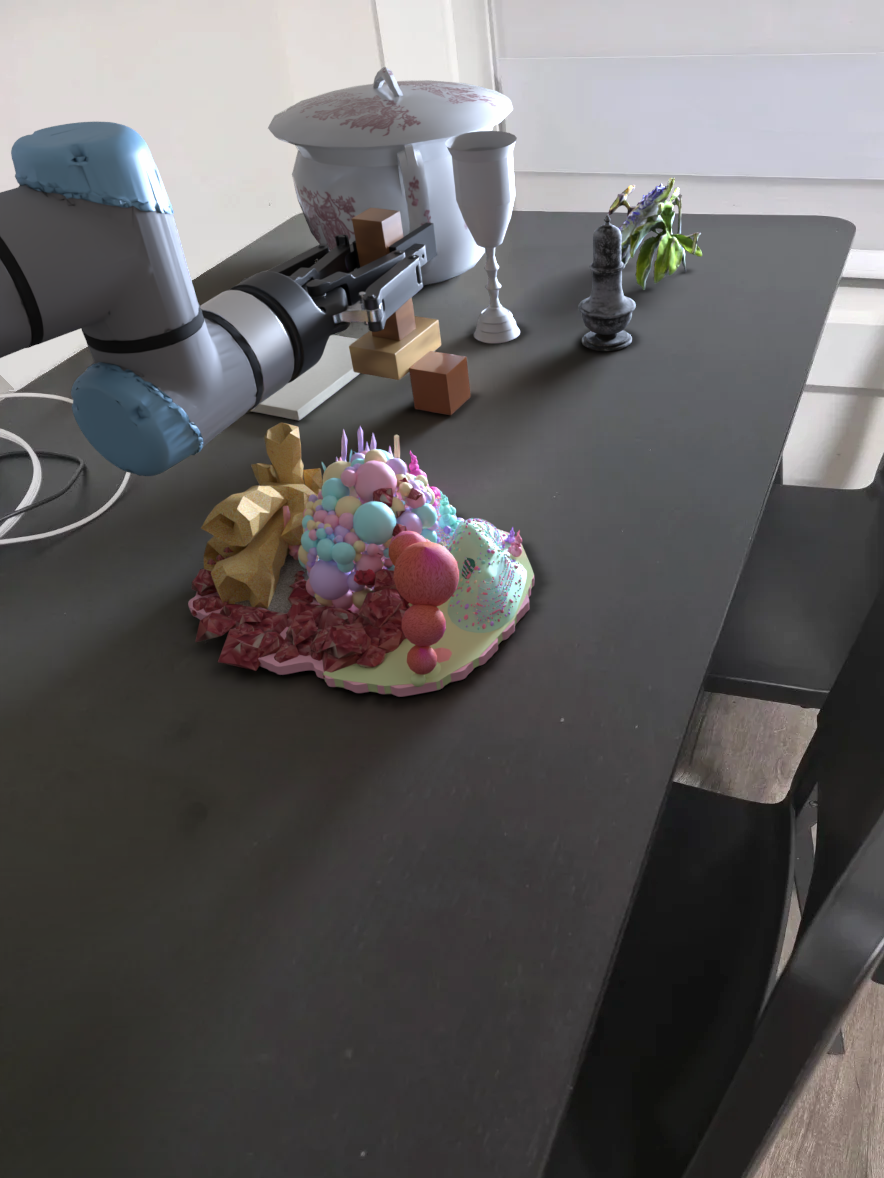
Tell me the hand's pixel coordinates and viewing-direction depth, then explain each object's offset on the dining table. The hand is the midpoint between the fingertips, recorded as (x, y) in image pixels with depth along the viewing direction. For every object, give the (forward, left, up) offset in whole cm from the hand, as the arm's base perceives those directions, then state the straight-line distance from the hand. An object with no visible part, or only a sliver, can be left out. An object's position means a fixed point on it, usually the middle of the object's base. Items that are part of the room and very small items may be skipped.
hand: (414, 237), depth 82 cm
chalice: (+2, +11, -13) cm, 17 cm away
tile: (-18, -5, -13) cm, 23 cm away
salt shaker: (+14, +13, -13) cm, 23 cm away
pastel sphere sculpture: (+13, -33, -13) cm, 38 cm away
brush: (0, -5, -9) cm, 11 cm away
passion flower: (+12, +33, -13) cm, 37 cm away
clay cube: (+4, -6, -13) cm, 15 cm away
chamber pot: (-17, +25, -13) cm, 33 cm away
